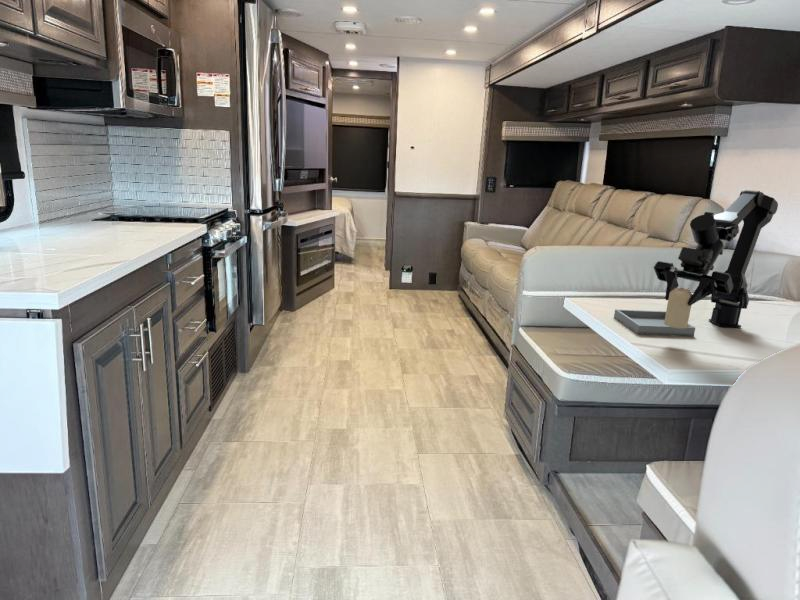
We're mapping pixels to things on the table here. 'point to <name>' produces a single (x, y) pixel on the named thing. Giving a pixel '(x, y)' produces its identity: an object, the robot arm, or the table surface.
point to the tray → (650, 323)
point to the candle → (678, 308)
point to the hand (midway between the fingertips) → (677, 301)
